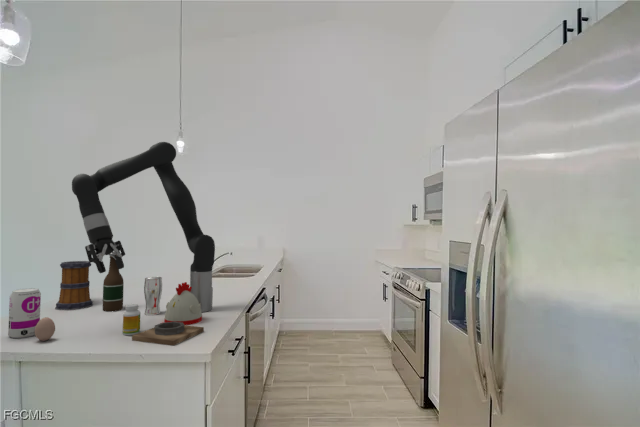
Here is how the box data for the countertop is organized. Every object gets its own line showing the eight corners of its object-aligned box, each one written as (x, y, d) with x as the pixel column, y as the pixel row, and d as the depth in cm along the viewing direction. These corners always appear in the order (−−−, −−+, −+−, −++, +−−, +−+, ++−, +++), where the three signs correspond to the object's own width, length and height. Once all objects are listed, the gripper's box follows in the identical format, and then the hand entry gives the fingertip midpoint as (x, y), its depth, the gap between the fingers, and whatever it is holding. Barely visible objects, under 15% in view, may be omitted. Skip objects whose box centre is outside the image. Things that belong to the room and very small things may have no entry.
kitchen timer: (156, 323, 140) (157, 283, 141) (181, 315, 153) (182, 279, 154) (185, 327, 135) (186, 286, 136) (209, 318, 148) (209, 281, 149)
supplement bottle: (141, 334, 126) (141, 305, 126) (123, 336, 123) (124, 307, 123) (138, 330, 131) (139, 302, 131) (121, 332, 128) (122, 304, 128)
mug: (65, 302, 175) (67, 259, 175) (100, 300, 179) (101, 259, 180) (49, 311, 156) (50, 264, 157) (88, 309, 161) (89, 263, 161)
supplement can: (44, 333, 126) (46, 289, 126) (16, 340, 118) (18, 293, 119) (31, 330, 129) (32, 287, 129) (2, 336, 122) (4, 291, 122)
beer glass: (139, 314, 153) (140, 278, 153) (152, 311, 159) (153, 276, 159) (152, 316, 150) (153, 279, 150) (165, 312, 156) (166, 277, 157)
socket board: (165, 327, 135) (166, 317, 135) (203, 331, 130) (203, 321, 130) (131, 340, 119) (132, 329, 119) (173, 345, 115) (173, 334, 115)
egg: (49, 342, 116) (50, 319, 116) (30, 343, 115) (31, 319, 115) (58, 337, 121) (58, 315, 122) (39, 338, 120) (40, 315, 120)
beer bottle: (113, 312, 156) (115, 255, 157) (98, 311, 158) (99, 255, 158) (126, 308, 164) (128, 254, 164) (111, 307, 165) (113, 253, 166)
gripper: (89, 225, 125) (105, 270, 124) (120, 223, 139) (135, 263, 138) (72, 233, 126) (87, 277, 125) (105, 230, 140) (119, 270, 139)
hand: (112, 270), depth 132 cm, fingers open, 8 cm apart
